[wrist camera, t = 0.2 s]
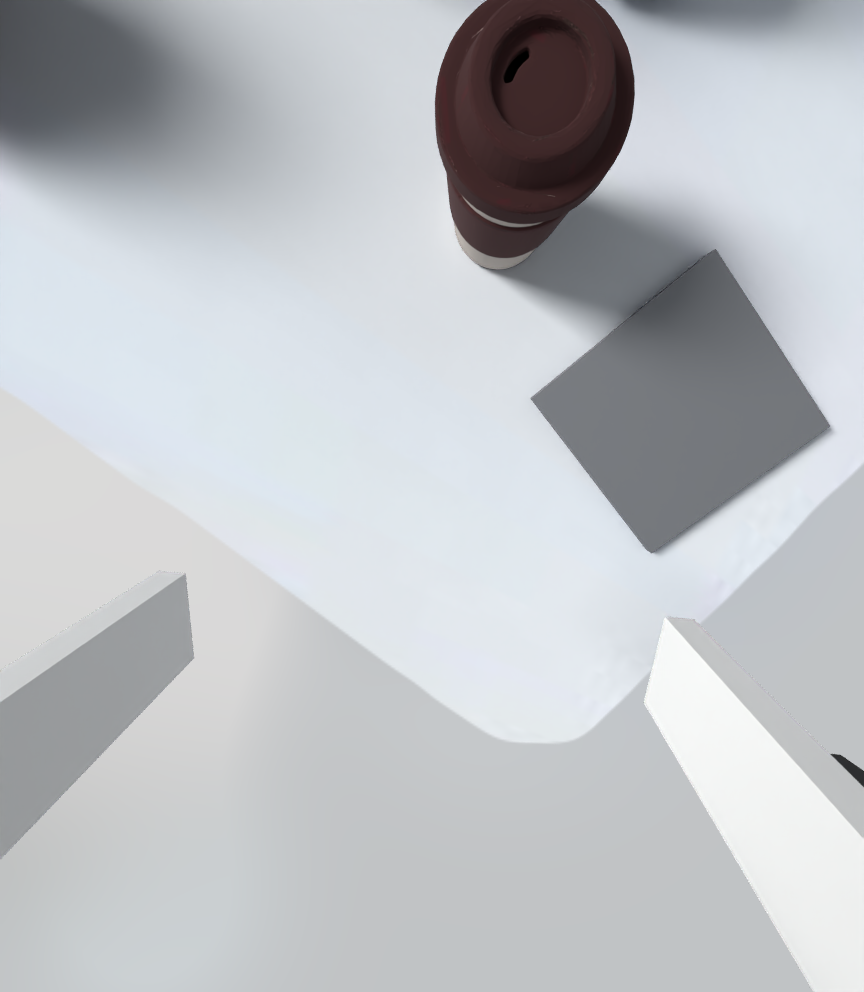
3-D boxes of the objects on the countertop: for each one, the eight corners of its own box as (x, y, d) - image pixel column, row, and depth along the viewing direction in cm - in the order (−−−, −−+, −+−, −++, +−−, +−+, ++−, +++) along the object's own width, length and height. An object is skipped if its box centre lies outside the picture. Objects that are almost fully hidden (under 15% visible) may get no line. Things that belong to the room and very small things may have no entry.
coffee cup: (572, 266, 34) (670, 155, 19) (457, 304, 35) (468, 225, 20) (543, 135, 32) (627, -98, 18) (422, 178, 33) (406, -9, 18)
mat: (530, 398, 36) (532, 397, 35) (707, 253, 34) (715, 249, 33) (646, 549, 39) (651, 553, 38) (819, 425, 36) (830, 426, 35)
